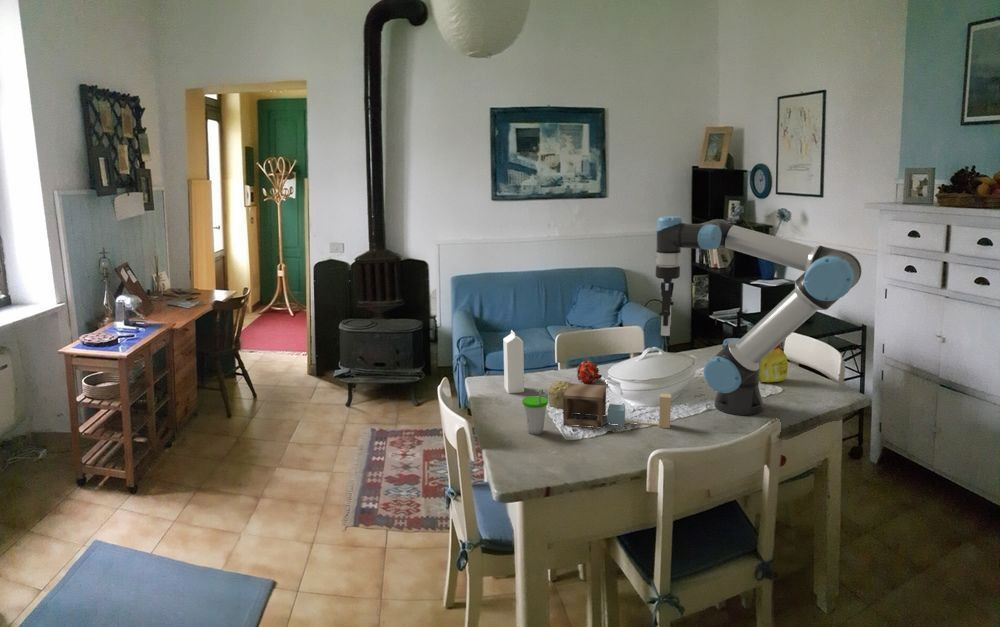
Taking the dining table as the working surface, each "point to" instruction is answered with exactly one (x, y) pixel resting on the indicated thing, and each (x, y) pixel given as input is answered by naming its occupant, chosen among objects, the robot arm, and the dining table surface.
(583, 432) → the dining table surface
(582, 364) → the dragon fruit
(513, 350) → the milk
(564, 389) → the decorative item
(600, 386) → the brown wooden box
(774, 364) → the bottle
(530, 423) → the cup
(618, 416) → the tethered block
